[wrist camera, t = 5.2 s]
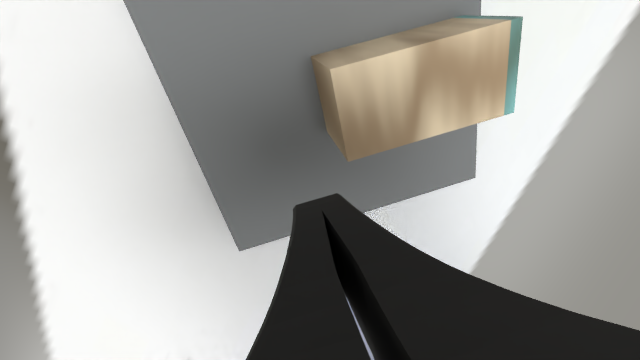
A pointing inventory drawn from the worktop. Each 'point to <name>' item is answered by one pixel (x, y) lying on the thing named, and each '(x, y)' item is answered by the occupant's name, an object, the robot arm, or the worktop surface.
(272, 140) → the mat
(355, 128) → the block
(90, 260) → the worktop surface
